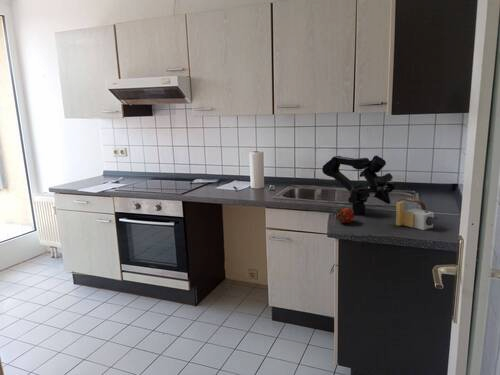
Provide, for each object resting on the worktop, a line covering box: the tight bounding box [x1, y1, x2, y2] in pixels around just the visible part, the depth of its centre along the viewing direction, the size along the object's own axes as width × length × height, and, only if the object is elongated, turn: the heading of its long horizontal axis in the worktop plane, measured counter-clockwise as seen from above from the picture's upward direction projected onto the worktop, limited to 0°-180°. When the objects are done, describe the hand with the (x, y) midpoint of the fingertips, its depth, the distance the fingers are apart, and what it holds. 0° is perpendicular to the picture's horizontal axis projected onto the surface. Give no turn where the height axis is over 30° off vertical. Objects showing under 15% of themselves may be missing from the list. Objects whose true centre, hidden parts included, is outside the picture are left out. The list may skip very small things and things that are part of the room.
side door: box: [395, 201, 414, 228], centre depth 181 cm, size 7×4×11 cm, turn 30°
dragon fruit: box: [335, 206, 356, 224], centre depth 191 cm, size 8×8×12 cm
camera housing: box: [405, 209, 435, 231], centre depth 180 cm, size 11×7×8 cm, turn 30°
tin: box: [397, 197, 427, 212], centre depth 200 cm, size 15×3×8 cm, turn 35°
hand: (389, 203), depth 187 cm, fingers closed
